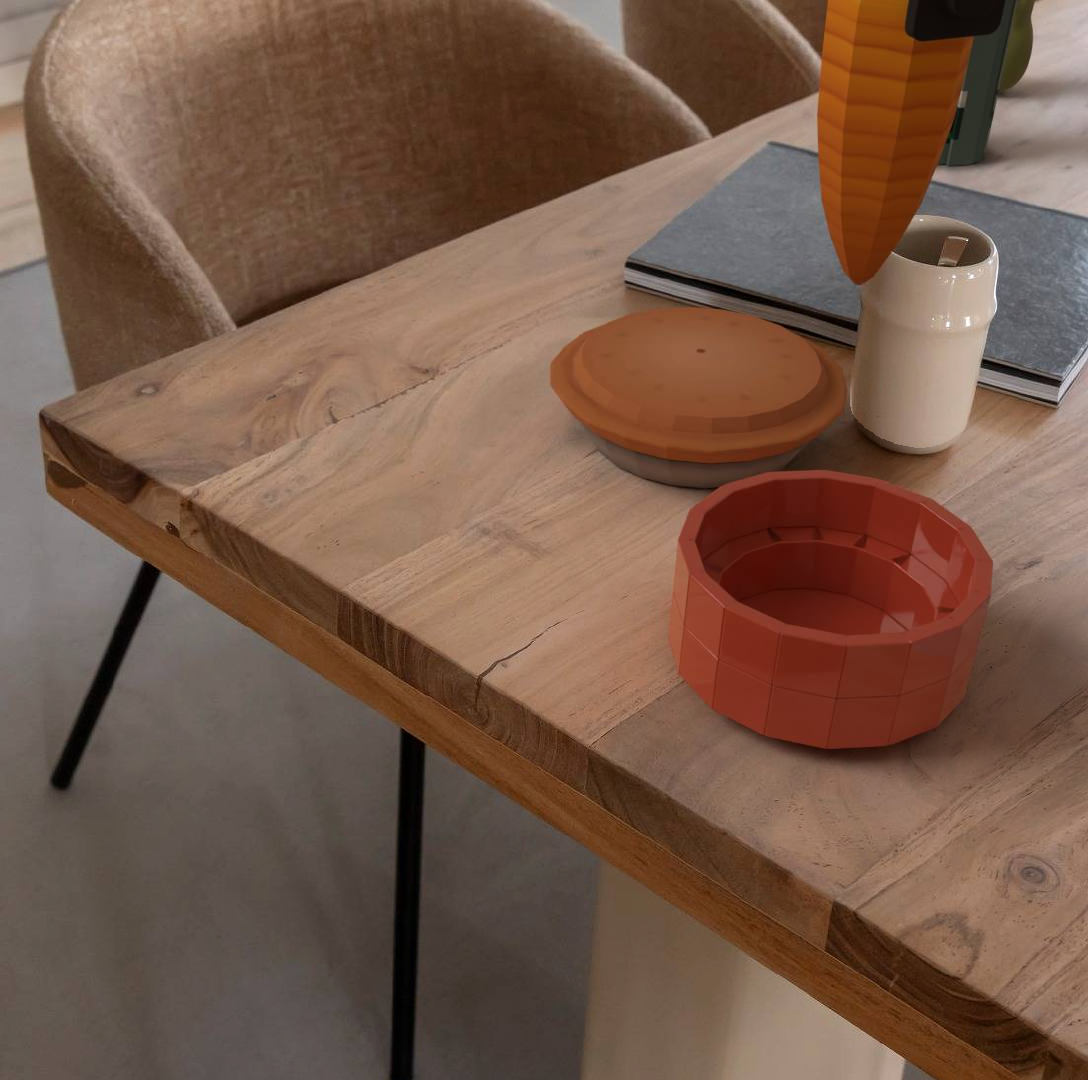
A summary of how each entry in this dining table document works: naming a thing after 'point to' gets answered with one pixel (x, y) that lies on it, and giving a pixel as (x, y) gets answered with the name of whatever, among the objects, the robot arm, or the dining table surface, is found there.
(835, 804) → the dining table surface
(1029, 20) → the pear
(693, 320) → the pie
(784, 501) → the bowl
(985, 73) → the can
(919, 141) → the carrot
